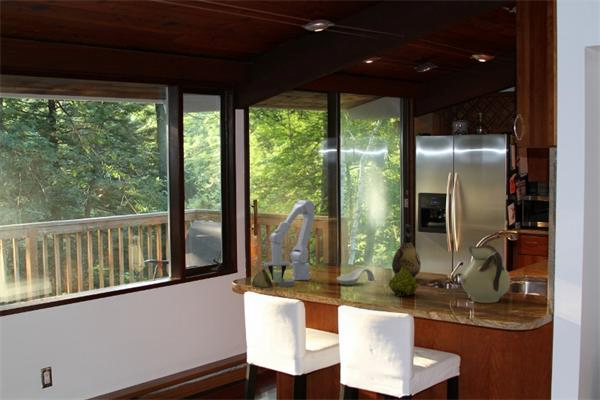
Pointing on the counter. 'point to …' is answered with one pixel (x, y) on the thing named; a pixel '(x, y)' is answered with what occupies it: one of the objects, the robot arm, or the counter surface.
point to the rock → (262, 279)
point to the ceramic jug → (406, 255)
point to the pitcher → (485, 275)
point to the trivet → (286, 282)
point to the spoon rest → (354, 277)
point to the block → (277, 276)
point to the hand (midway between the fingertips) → (277, 279)
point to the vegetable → (403, 283)
